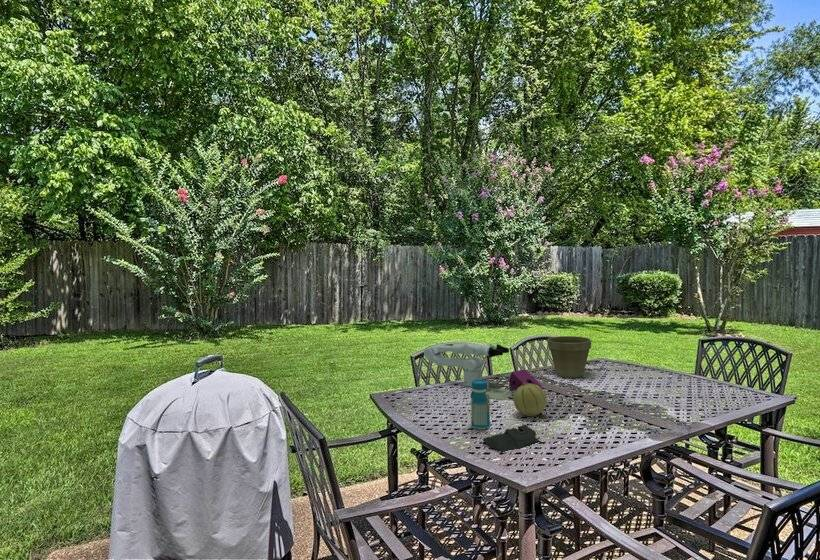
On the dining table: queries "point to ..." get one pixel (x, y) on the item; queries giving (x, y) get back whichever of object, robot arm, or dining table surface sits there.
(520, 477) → the dining table surface
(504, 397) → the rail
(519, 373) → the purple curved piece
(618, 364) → the dining table surface
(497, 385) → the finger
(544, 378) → the dining table surface
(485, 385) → the beverage bottle
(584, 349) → the plant pot
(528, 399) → the cantaloupe
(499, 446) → the dark slate chunk
